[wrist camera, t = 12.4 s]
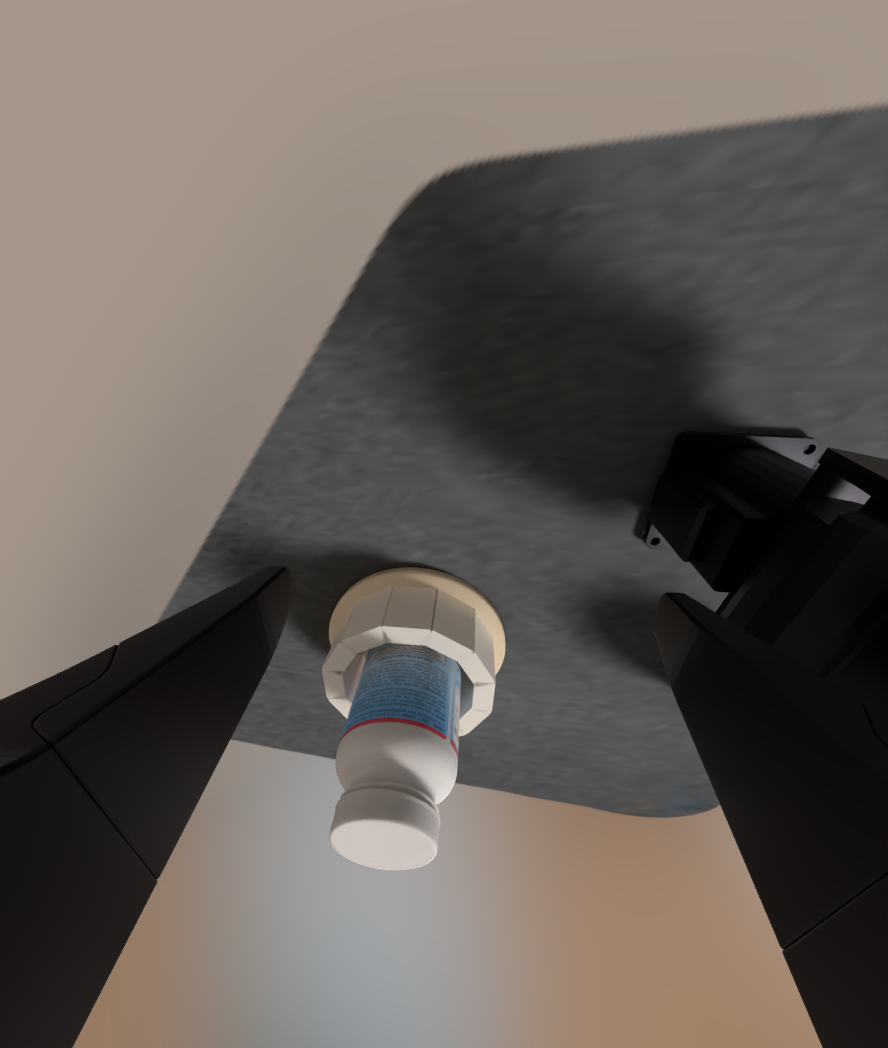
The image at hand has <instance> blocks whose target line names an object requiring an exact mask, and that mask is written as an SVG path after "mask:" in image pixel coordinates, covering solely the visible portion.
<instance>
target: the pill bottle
mask: <svg viewBox="0 0 888 1048" xmlns="http://www.w3.org/2000/svg"><path fill="white" fill-rule="evenodd" d="M460 690H461V665H460V664H459V663H458V661H456V660H454V659H452V658H450V657H448V656H446V655H444V654H441V653H439V652H437V651H435V650H433V649H431V648H429V647H427V646H424V645H411V644H399V643H386V644H383V645H380V646H377V647H374V648H371V649H369V650H368V653H367V657H366V660H365V663H364V667H363V670H362V673H361V676H360V680H359V683H358V686H357V689H356V692H355V696H354V699H353V702H352V705H351V708H350V711H349V714H348V718H347V721H346V725H345V728H344V731H343V734H342V737H341V741H340V744H339V748H338V751H337V756H336V772H337V776H338V779H339V781H340V783H341V785H342V786H343V788H344V789H345V792H344V793H343V794H342V795H341V797H340V800H339V801H338V803H337V805H336V809H335V816H334V819H333V823H332V826H331V830H330V836H329V837H330V842H331V844H332V846H333V848H334V849H335V850H336V851H337V852H338V853H339V854H341V855H342V856H344V857H345V858H347V859H349V860H351V861H353V862H355V863H358V864H361V865H364V866H368V867H372V868H377V869H383V870H408V869H414V868H418V867H421V866H424V865H426V864H427V863H429V862H431V861H432V860H433V859H434V857H435V855H436V853H437V848H438V838H439V828H440V817H439V810H438V807H437V804H439V803H440V802H442V801H443V800H444V799H445V798H446V797H447V795H448V794H449V793H450V791H451V790H452V788H453V786H454V783H455V780H456V776H457V765H458V743H459V742H458V741H459V715H460Z"/></svg>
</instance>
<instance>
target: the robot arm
mask: <svg viewBox="0 0 888 1048" xmlns="http://www.w3.org/2000/svg"><path fill="white" fill-rule="evenodd" d="M690 438H691V442H690V444H689V445H687V446H684V443H685V441H686V440H687V439H690ZM808 445H809V448H808V449H807V450H806V451H804V449H805V447H806V446H808ZM821 448H822V443H821V442H820V441H819V440H817V439H814V438H812V437H804V436H783V435H762V434H741V433H720V432H699V431H686V432H683V433H681V434H680V435H679V436H678V437H677V438H676V440H675V442H674V445H673V448H672V451H671V455H670V458H669V461H668V464H667V467H666V470H665V472H664V473H663V474H662V475H660V478H659V481H658V484H657V487H656V490H655V493H654V496H653V500H652V503H651V506H650V509H649V512H648V515H647V518H648V519H649V522H648V525H647V528H646V531H645V534H644V537H643V541H644V543H645V544H646V546H647V547H648V548H650V549H658V550H673V551H675V552H676V553H677V554H678V556H679V557H680V558H681V559H682V561H684V562H690V563H691V564H692V565H693V566H694V568H695V569H696V570H697V571H698V572H699V573H700V575H701V576H702V577H703V578H704V579H705V581H706V582H707V583H708V584H709V585H710V586H711V588H712V589H713V590H714V591H717V592H728V593H729V594H728V595H727V597H726V598H725V600H724V601H723V602H722V604H721V605H720V607H719V608H718V609H717V611H716V612H713V611H712V610H710V609H709V608H707V607H705V606H704V605H702V604H700V603H699V602H697V601H696V600H694V599H692V598H691V597H689V596H687V595H686V594H683V593H671V592H667V593H664V594H663V595H662V597H661V599H660V602H659V604H658V607H657V610H656V612H655V615H654V617H653V630H654V633H655V637H656V640H657V644H658V647H659V650H660V654H661V657H662V660H663V664H664V667H665V670H666V674H667V677H668V680H669V683H670V686H671V689H672V691H673V694H674V696H675V699H676V701H677V704H678V706H679V708H680V711H681V713H682V716H683V718H684V720H685V723H686V725H687V727H688V730H689V732H690V734H691V737H692V739H693V742H694V744H695V746H696V749H697V751H698V753H699V756H700V758H701V760H702V763H703V765H704V768H705V770H706V772H707V775H708V777H709V779H710V782H711V784H712V786H713V789H714V791H715V794H716V796H717V798H718V801H719V803H720V805H721V807H722V810H723V812H724V815H725V817H726V819H727V821H728V824H729V826H730V829H731V831H732V833H733V836H734V838H735V841H736V843H737V845H738V848H739V850H740V853H741V855H742V857H743V860H744V862H745V864H746V867H747V869H748V871H749V874H750V876H751V879H752V881H753V883H754V886H755V888H756V890H757V893H758V895H759V898H760V900H761V902H762V904H763V907H764V909H765V912H766V914H767V916H768V919H769V921H770V924H771V926H772V928H773V930H774V933H775V935H776V938H777V940H778V942H779V945H780V947H781V948H782V949H784V950H783V952H782V953H783V955H784V957H785V960H786V962H787V965H788V967H789V969H790V972H791V974H792V976H793V979H794V981H795V984H796V986H797V988H798V991H799V993H800V995H801V998H802V1000H803V1002H804V1005H805V1007H806V1009H807V1012H808V1014H809V1016H810V1018H811V1021H812V1023H813V1026H814V1028H815V1031H816V1033H817V1035H818V1038H819V1040H820V1043H821V1045H822V1047H823V1048H888V460H887V459H882V458H877V457H873V456H868V455H863V454H858V453H853V452H848V451H844V450H839V449H834V448H827V449H826V451H825V452H824V454H823V455H822V456H821V458H820V459H819V461H818V463H820V465H819V467H818V468H817V470H813V469H811V468H812V466H813V464H814V462H815V460H816V459H817V457H818V455H819V453H820V451H821ZM653 538H657V539H656V540H655V541H653V542H651V540H652V539H653ZM293 602H294V589H293V584H292V579H291V574H290V571H289V569H288V568H287V567H285V566H269V567H267V568H265V569H263V570H261V571H259V572H257V573H255V574H253V575H251V576H249V577H247V578H245V579H243V580H242V581H240V582H238V583H236V584H234V585H232V586H230V587H228V588H226V589H224V590H222V591H220V592H218V593H216V594H214V595H212V596H210V597H208V598H206V599H204V600H202V601H200V602H198V603H196V604H195V605H193V606H191V607H189V608H187V609H185V610H183V611H181V612H179V613H177V614H175V615H173V616H171V617H169V618H167V619H165V620H163V621H161V622H159V623H157V624H155V625H153V626H151V627H150V628H148V629H146V630H144V631H142V632H140V633H138V634H136V635H134V636H132V637H130V638H128V639H126V640H124V641H122V642H121V643H119V645H114V646H112V647H110V648H108V649H106V650H104V651H102V652H100V653H99V654H97V655H95V656H93V657H91V658H89V659H87V660H84V661H82V662H80V663H79V664H76V665H75V666H72V667H70V668H69V669H66V670H64V671H63V672H60V673H58V674H56V675H54V676H52V677H49V678H47V679H45V680H43V681H41V682H38V683H36V684H34V685H32V686H30V687H28V688H26V689H23V690H21V691H19V692H17V693H14V694H12V695H10V696H8V697H6V698H4V699H2V700H0V1048H72V1047H73V1045H74V1043H75V1041H76V1040H77V1038H78V1036H79V1034H80V1032H81V1030H82V1028H83V1026H84V1024H85V1022H86V1020H87V1018H88V1016H89V1014H90V1012H91V1010H92V1008H93V1006H94V1004H95V1003H96V1001H97V999H98V997H99V995H100V993H101V991H102V989H103V987H104V985H105V983H106V981H107V979H108V977H109V975H110V973H111V971H112V969H113V968H114V966H115V963H116V962H117V960H118V958H119V956H120V954H121V952H122V950H123V948H124V946H125V944H126V942H127V940H128V938H129V936H130V934H131V932H132V930H133V929H134V927H135V924H136V923H137V921H138V919H139V917H140V915H141V913H142V911H143V909H144V907H145V905H146V903H147V901H148V899H149V897H150V895H151V893H152V892H153V890H154V888H155V886H156V884H157V879H158V878H159V877H160V875H161V873H162V871H163V869H164V867H165V866H166V863H167V862H168V860H169V858H170V856H171V854H172V852H173V850H174V848H175V846H176V844H177V842H178V840H179V838H180V836H181V834H182V832H183V830H184V828H185V826H186V825H187V823H188V820H189V819H190V817H191V815H192V813H193V811H194V809H195V807H196V805H197V803H198V801H199V799H200V797H201V795H202V793H203V791H204V790H205V788H206V786H207V784H208V782H209V780H210V778H211V776H212V774H213V772H214V770H215V768H216V766H217V764H218V762H219V760H220V758H221V756H222V754H223V753H224V750H225V749H226V747H227V745H228V743H229V741H230V739H231V737H232V735H233V733H234V731H235V729H236V727H237V725H238V723H239V721H240V719H241V718H242V716H243V714H244V712H245V710H246V708H247V706H248V704H249V702H250V700H251V698H252V696H253V694H254V692H255V690H256V688H257V686H258V684H259V682H260V680H261V679H262V677H263V675H264V673H265V671H266V669H267V667H268V665H269V663H270V661H271V659H272V657H273V654H274V652H275V649H276V647H277V644H278V642H279V639H280V636H281V634H282V631H283V628H284V626H285V623H286V621H287V618H288V615H289V613H290V610H291V607H292V605H293Z"/></svg>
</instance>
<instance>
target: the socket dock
mask: <svg viewBox="0 0 888 1048" xmlns="http://www.w3.org/2000/svg"><path fill="white" fill-rule="evenodd" d="M329 641H330V645H331V648H330V651H329V653H328V655H327V658H326V660H325V662H324V665H323V667H322V673H323V679H324V684H325V690H326V695H327V698H328V700H329V701H330V702H331V703H332V704H333V705H334V706H335V707H336V708H337V709H338V710H339V711H340V712H341V713H342V714H343V715H344V716H345V718H346V719H347V718H348V714H349V711H350V708H351V705H352V702H353V699H354V696H355V692H356V689H357V686H358V683H359V680H360V676H361V673H362V670H363V667H364V663H365V660H366V657H367V653H368V650H369V649H371V648H374V647H377V646H380V645H383V644H386V643H399V644H411V645H424V646H427V647H429V648H431V649H433V650H435V651H437V652H439V653H441V654H444V655H446V656H448V657H450V658H452V659H454V660H456V661H458V663H459V664H460V665H461V690H460V715H459V736H463V735H466V734H468V733H469V732H470V731H471V730H472V729H474V728H475V727H476V726H477V725H478V724H479V723H480V722H482V721H483V720H484V719H485V718H486V717H487V716H488V715H490V714H491V712H492V705H493V698H494V691H495V675H496V674H497V672H498V671H499V669H500V667H501V665H502V663H503V659H504V655H505V635H504V627H503V624H502V621H501V618H500V616H499V614H498V612H497V610H496V609H495V607H494V606H493V605H492V603H491V602H490V601H489V600H488V599H487V598H486V597H485V596H484V594H482V593H481V592H480V591H479V590H477V589H476V588H475V587H473V586H472V585H470V584H469V583H467V582H465V581H464V580H461V579H459V578H457V577H455V576H453V575H450V574H447V573H444V572H441V571H437V570H432V569H426V568H418V567H402V568H392V569H387V570H383V571H379V572H376V573H373V574H371V575H369V576H367V577H365V578H363V579H361V580H359V581H358V582H356V583H355V584H353V585H352V586H351V587H350V588H349V589H348V590H347V591H346V592H345V593H344V594H343V596H342V597H341V598H340V600H339V602H338V604H337V606H336V608H335V610H334V612H333V614H332V617H331V620H330V624H329Z"/></svg>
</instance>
